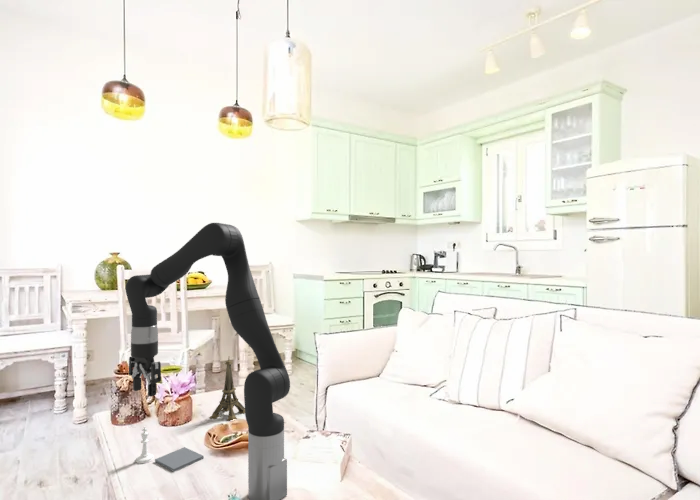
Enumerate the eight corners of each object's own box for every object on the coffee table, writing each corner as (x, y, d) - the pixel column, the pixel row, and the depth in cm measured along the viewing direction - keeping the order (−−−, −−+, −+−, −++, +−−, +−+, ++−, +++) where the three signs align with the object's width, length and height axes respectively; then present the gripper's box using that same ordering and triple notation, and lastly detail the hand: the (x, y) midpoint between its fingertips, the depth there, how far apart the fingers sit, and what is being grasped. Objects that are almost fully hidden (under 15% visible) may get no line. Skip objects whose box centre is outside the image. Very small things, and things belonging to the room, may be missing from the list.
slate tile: (203, 458, 135) (203, 455, 135) (173, 471, 127) (173, 469, 127) (184, 449, 141) (184, 447, 141) (155, 461, 132) (155, 459, 132)
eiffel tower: (233, 421, 164) (233, 354, 163) (209, 418, 167) (208, 352, 167) (248, 411, 174) (248, 348, 173) (225, 408, 177) (225, 346, 177)
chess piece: (146, 464, 131) (146, 430, 131) (132, 462, 132) (132, 429, 132) (157, 456, 136) (156, 424, 136) (143, 455, 137) (142, 423, 137)
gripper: (169, 341, 133) (168, 394, 133) (144, 335, 141) (144, 385, 141) (145, 345, 127) (145, 401, 127) (120, 339, 135) (120, 391, 135)
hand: (144, 392), depth 134 cm, fingers open, 8 cm apart
